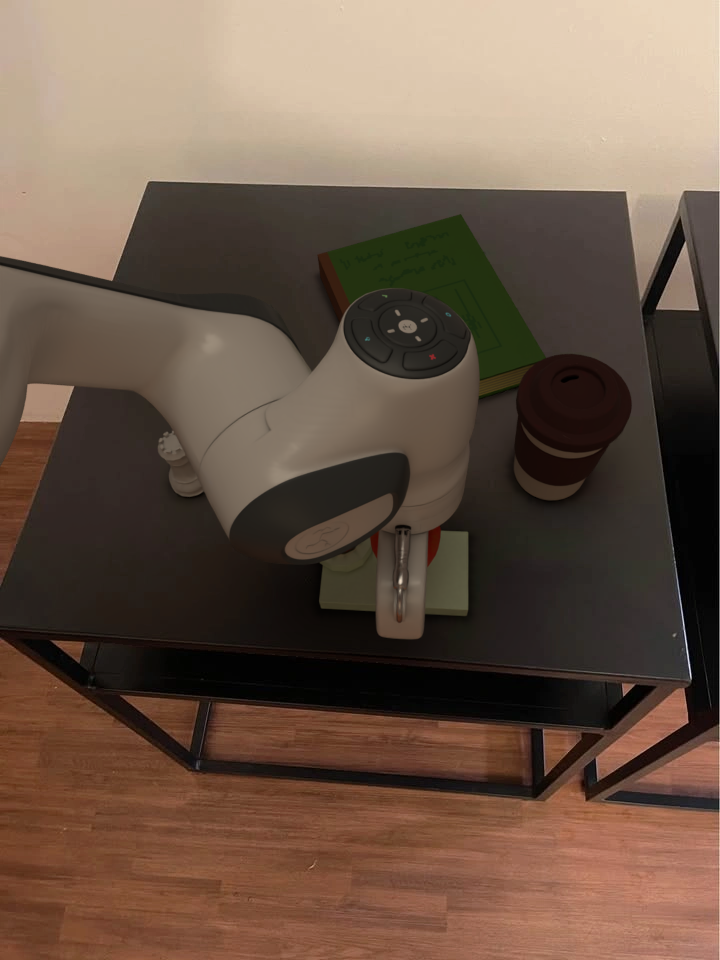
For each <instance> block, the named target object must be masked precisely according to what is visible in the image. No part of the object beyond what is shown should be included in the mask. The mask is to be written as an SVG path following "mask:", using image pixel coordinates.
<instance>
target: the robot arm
mask: <svg viewBox="0 0 720 960" xmlns="http://www.w3.org/2000/svg"><path fill="white" fill-rule="evenodd" d="M291 333H292V332H291V331H290V330H289V327H288V326H287V324H286V322H285V320H284V318H283V316H281V314H280V313H279V312H278V311H277V310H276V309H275V308H274V307H273V306H272V305H270V304H269V303H268V302H266V301H264V300H262V299H260V298H257V297H255V296H250V295H246V294H241V293H230V292H228V293H227V292H217V293H215V292H214V293H212V292H211V293H174V292H166V291H159V290H154V289H150V288H145V287H141V286H137V285H132V284H127V283H125V282H124V283H123V282H119V281H115V280H110V279H106V278H102V277H97V276H92V275H89V274H84V273H81V272H75V271H71V270H67V269H63V268H58V267H54V266H50V265H46V264H41V263H37V262H31V261H27V260H22V259H17V258H13V257H12V258H11V257H7V256H3V255H0V467H1V466H2V465H3V463H4V461H5V459H6V457H7V455H8V452H10V451H9V450H10V449H11V447H12V444H13V442H14V440H15V437H16V435H17V432H18V430H19V427H20V423H21V421H22V417H23V414H24V410H25V406H26V401H27V393H28V385H32V384H33V385H34V384H35V385H51V386H66V387H81V388H92V389H107V390H119V391H130V392H134V393H136V394H137V395H139V396H141V397H143V398H144V399H145V400H146V401H147V402H149V404H151V405H152V406H153V407H154V408H155V409H156V411H157V412H158V413H159V414H160V415H161V416H162V417H163V419H164V420H165V421H166V423H167V424H168V425H169V427H170V428H171V430H173V431H174V433H175V435H176V437H177V439H178V441H179V443H180V445H181V447H182V449H183V451H184V452H185V454H186V456H187V458H188V460H189V462H190V464H191V466H192V468H193V470H194V472H195V474H196V476H197V478H198V480H199V482H200V484H201V486H202V490H203V493H204V494H205V496H206V499H207V501H208V503H209V504H210V507H211V508H212V510H213V512H214V514H215V516H216V518H217V520H218V522H219V524H220V526H221V528H222V529H223V531H224V534H225V535H226V537H227V538H228V540H229V543H230V545H231V547H232V548H233V549H234V550H235V551H236V552H238V553H240V554H242V555H243V556H245V557H248V558H251V559H253V560H257V561H261V562H264V563H271V564H279V565H295V566H296V565H298V566H307V565H314V564H320V562H322V561H325V560H328V559H330V558H333V557H335V556H337V555H340V554H342V553H344V552H346V551H348V550H350V549H352V548H354V547H355V546H357V545H359V544H361V543H362V542H364V541H365V540H367V539H368V538H370V537H371V536H373V535H374V534H375V533H377V532H378V531H379V537H378V552H377V567H376V585H375V610H376V611H375V629H376V632H377V634H378V636H380V637H382V638H387V639H397V640H418V639H421V638H422V637H423V634H424V631H425V622H426V621H425V620H426V614H425V607H426V588H427V557H428V531H429V530H432V529H434V528H436V527H438V526H439V525H440V526H441V525H443V524H444V523H445V522H447V521H448V520H449V519H450V518H451V517H452V516H453V515H454V514H455V512H456V511H457V509H458V508H459V506H460V505H461V502H462V500H463V497H464V493H465V487H466V482H467V481H466V480H467V475H468V469H469V462H470V456H471V452H470V451H471V446H470V441H471V438H472V436H473V433H474V430H475V426H476V421H477V414H478V407H479V400H480V399H479V383H480V376H479V361H478V355H477V349H476V345H475V342H474V338H473V336H472V333H471V331H470V330H469V328H468V326H467V325H466V324H465V322H464V321H463V320H462V319H461V317H460V316H459V315H458V314H457V313H456V312H455V311H454V310H452V309H451V308H450V307H449V306H448V305H446V304H445V303H443V302H442V301H440V300H439V299H437V298H435V297H433V296H430V295H428V294H425V293H422V292H419V291H415V290H410V289H402V288H389V289H381V290H376V291H373V292H370V293H368V294H365V295H363V296H361V297H360V298H358V299H357V300H356V301H354V302H353V303H352V304H351V305H350V306H349V307H348V309H347V310H346V312H345V313H344V315H343V317H342V320H341V322H339V326H338V328H337V331H336V334H335V337H334V340H333V341H332V344H331V345H330V347H329V348H328V351H327V352H326V353H325V355H324V357H323V358H322V359H321V360H320V361H319V363H318V364H317V365H316V367H314V369H313V370H312V369H311V368H310V366H309V365H308V363H307V361H305V359H304V358H303V356H302V353H301V351H300V348H299V347H298V344H297V343H296V341H295V339H294V338H293V335H292V334H291Z"/></svg>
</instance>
